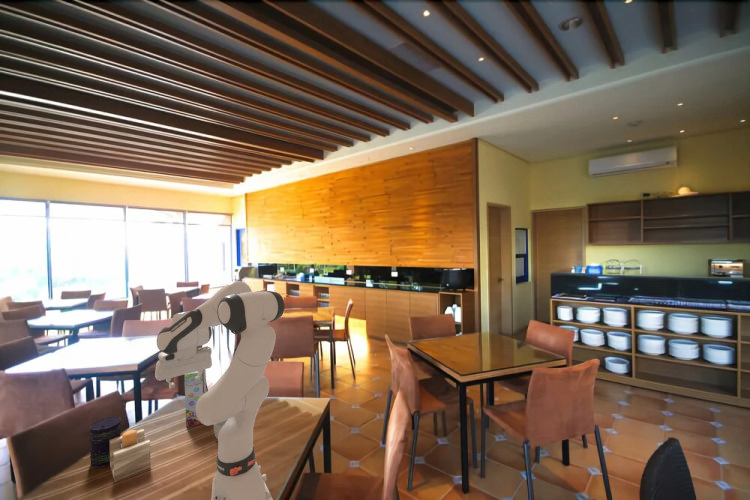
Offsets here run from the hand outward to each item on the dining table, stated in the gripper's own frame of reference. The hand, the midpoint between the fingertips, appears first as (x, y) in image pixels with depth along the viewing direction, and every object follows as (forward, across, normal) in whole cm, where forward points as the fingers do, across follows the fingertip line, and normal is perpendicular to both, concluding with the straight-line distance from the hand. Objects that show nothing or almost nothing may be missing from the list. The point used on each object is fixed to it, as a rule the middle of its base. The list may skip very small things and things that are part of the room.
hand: (185, 384), depth 133 cm
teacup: (+29, -18, -2) cm, 34 cm away
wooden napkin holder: (+29, +17, -8) cm, 35 cm away
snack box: (+29, -13, -31) cm, 45 cm away
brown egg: (+21, +17, -8) cm, 28 cm away
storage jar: (+29, +24, -20) cm, 42 cm away
